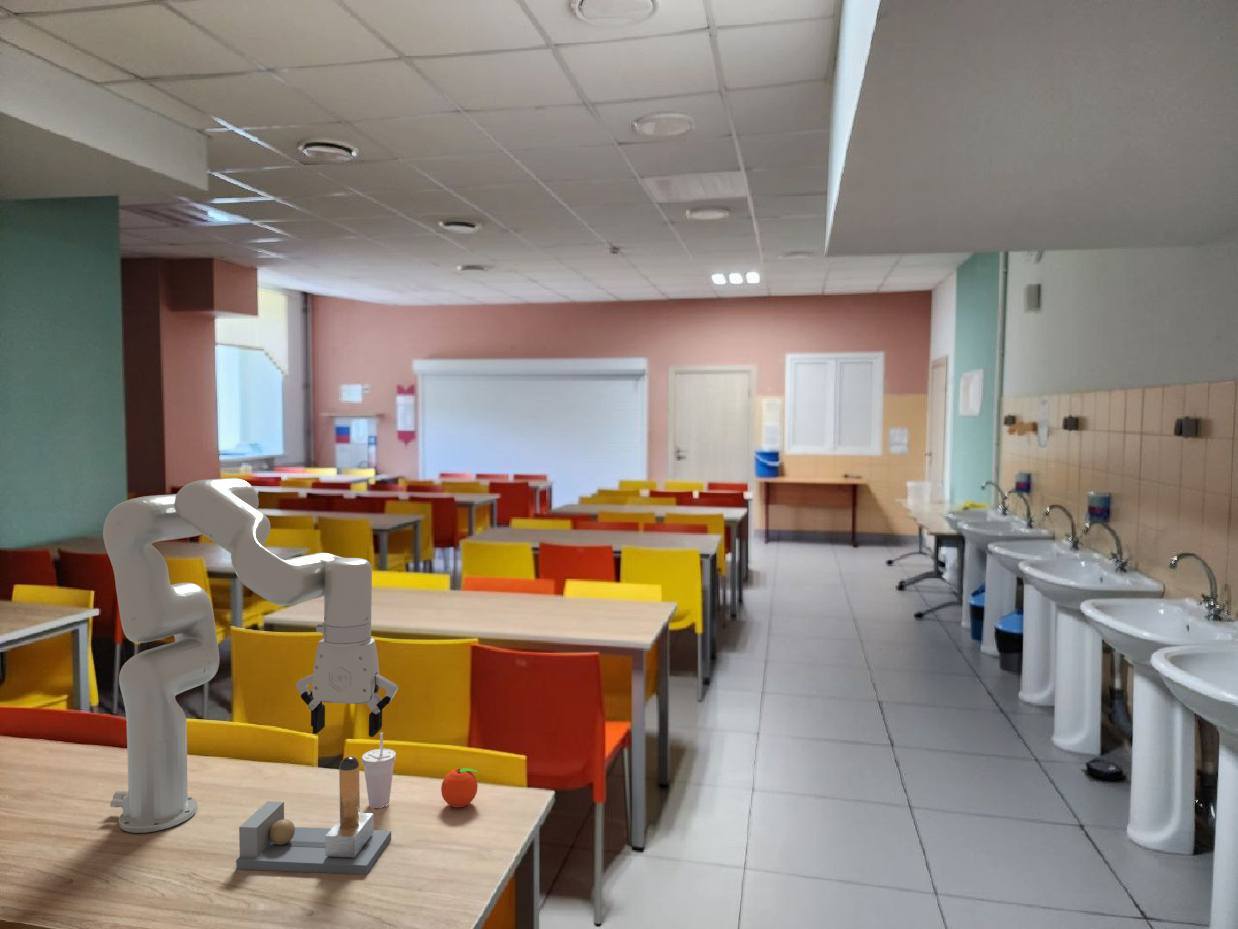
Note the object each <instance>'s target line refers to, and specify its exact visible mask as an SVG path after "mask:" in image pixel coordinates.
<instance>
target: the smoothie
mask: <svg viewBox="0 0 1238 929" xmlns="http://www.w3.org/2000/svg"><path fill="white" fill-rule="evenodd" d="M396 755H397V753H396V751H395V750H393V749H390V748H384V732H380V733H379V748H377V749H372V750H369V751H366V752H365V753H363V754H362V756H361V764H362V765H363V770H364V771H363V772H364V777H365V786H366V791H367V792H366V793H367V798H368V799H367V801H368V807H369V808H371V809H373V808H380V809H382V808H381V807H383V806H386V805H387V804H388V803H389V804H390V799H391V791H392V790H391V789H392V783H393V774H394V768H395V767H394V764H395V761H396V759H397V756H396ZM386 807H387V806H386Z"/></svg>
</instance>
